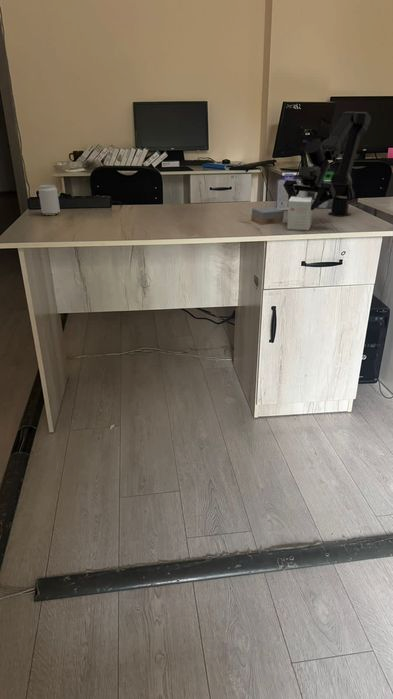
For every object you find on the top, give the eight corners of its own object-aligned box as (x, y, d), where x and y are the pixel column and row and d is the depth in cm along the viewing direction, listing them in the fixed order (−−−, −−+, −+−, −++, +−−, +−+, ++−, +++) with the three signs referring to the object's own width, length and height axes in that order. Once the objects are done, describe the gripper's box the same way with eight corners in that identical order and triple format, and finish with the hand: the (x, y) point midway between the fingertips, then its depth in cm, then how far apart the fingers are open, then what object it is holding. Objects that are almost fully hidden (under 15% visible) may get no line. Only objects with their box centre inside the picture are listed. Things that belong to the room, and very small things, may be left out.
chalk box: (334, 205, 227) (337, 170, 220) (337, 208, 219) (341, 172, 212) (313, 204, 228) (316, 170, 221) (315, 208, 220) (318, 172, 213)
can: (57, 216, 212) (53, 186, 207) (39, 216, 212) (35, 186, 207) (62, 212, 219) (58, 183, 214) (45, 213, 219) (40, 184, 214)
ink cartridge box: (298, 208, 221) (300, 173, 215) (299, 210, 216) (302, 174, 210) (275, 208, 222) (277, 173, 215) (276, 210, 217) (278, 175, 210)
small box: (311, 225, 186) (313, 196, 180) (309, 230, 181) (311, 201, 176) (289, 224, 188) (290, 195, 182) (286, 229, 184) (288, 200, 178)
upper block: (272, 213, 201) (272, 206, 200) (283, 217, 193) (283, 210, 192) (252, 215, 198) (252, 208, 197) (262, 219, 191) (262, 212, 190)
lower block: (271, 219, 202) (271, 213, 201) (282, 224, 195) (282, 217, 194) (251, 221, 200) (251, 215, 199) (261, 226, 192) (261, 219, 191)
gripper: (287, 156, 183) (269, 191, 180) (335, 158, 172) (316, 196, 169) (297, 177, 192) (279, 211, 189) (343, 180, 181) (325, 216, 178)
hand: (299, 208), depth 181 cm, fingers closed on small box, 9 cm apart
